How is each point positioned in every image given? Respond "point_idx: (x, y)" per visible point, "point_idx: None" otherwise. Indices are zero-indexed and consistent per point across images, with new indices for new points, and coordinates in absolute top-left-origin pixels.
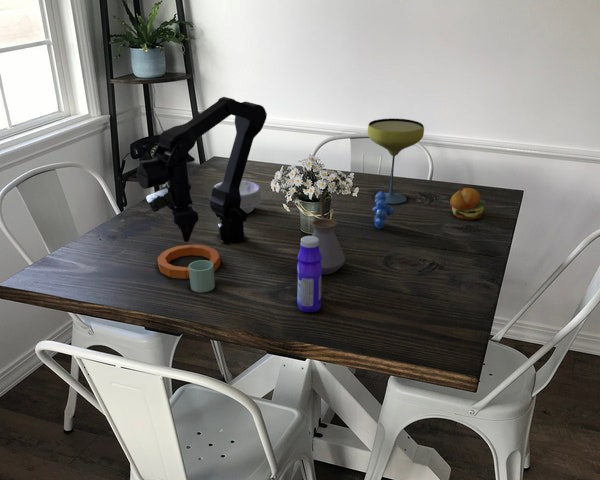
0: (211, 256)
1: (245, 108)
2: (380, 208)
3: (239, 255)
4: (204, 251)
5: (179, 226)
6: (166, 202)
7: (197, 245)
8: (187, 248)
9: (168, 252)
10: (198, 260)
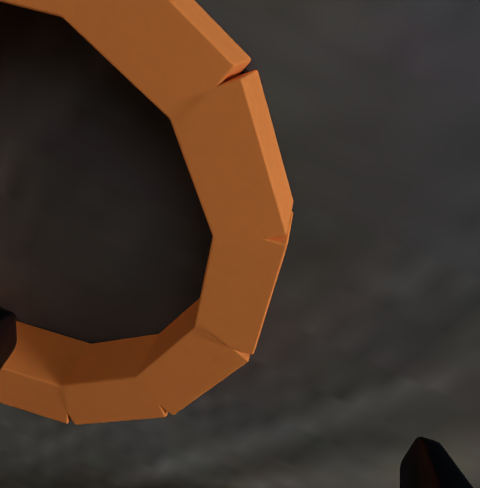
0: (14, 358)
1: None
2: None
3: (86, 462)
4: (119, 366)
5: (424, 476)
6: None
7: (201, 378)
8: (200, 299)
9: (177, 106)
10: None
